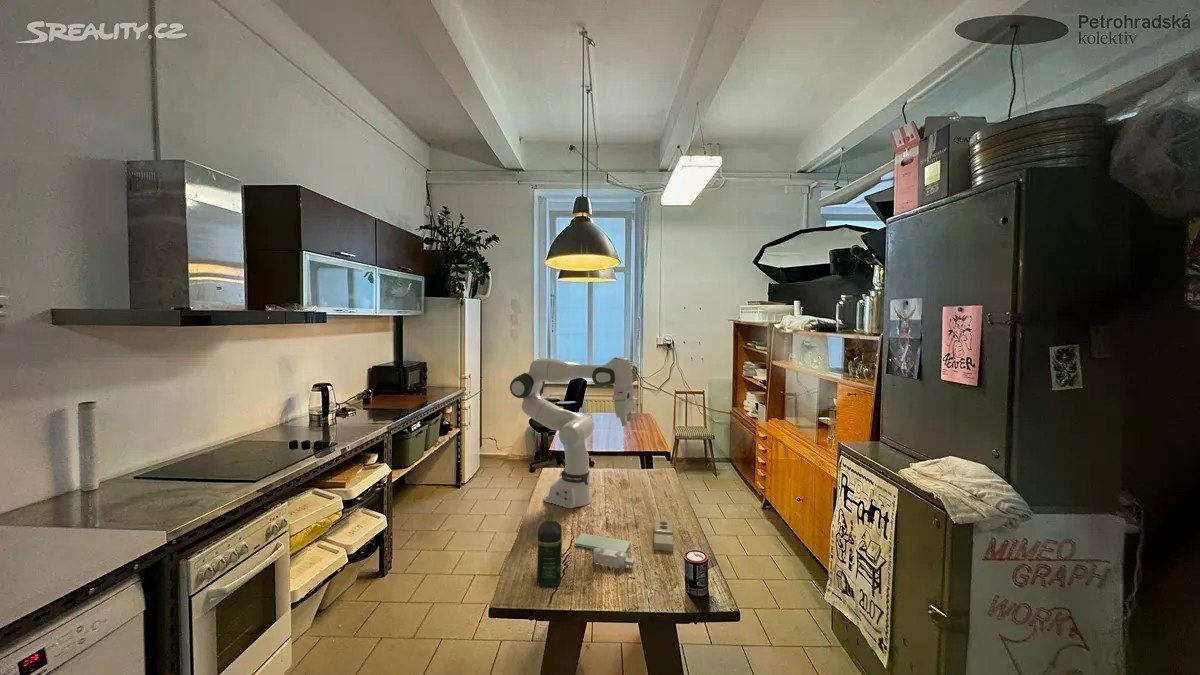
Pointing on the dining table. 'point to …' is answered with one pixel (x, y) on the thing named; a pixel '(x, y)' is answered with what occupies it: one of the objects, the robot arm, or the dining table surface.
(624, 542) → the sage board
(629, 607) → the dining table surface
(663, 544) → the electrical outlet
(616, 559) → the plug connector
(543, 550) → the coffee jar
